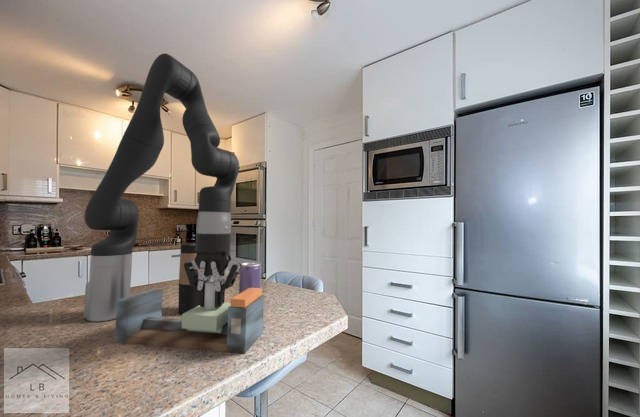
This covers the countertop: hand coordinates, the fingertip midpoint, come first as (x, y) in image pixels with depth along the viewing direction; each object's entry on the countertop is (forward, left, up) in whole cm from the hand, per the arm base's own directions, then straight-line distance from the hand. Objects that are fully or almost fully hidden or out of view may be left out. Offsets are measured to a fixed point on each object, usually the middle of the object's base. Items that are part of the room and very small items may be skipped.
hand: (211, 306), depth 59 cm
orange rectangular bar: (+9, 0, +2) cm, 9 cm away
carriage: (0, 0, -5) cm, 5 cm away
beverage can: (+3, +14, -8) cm, 16 cm away
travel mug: (-16, +16, -8) cm, 24 cm away
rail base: (-5, 0, -7) cm, 9 cm away
